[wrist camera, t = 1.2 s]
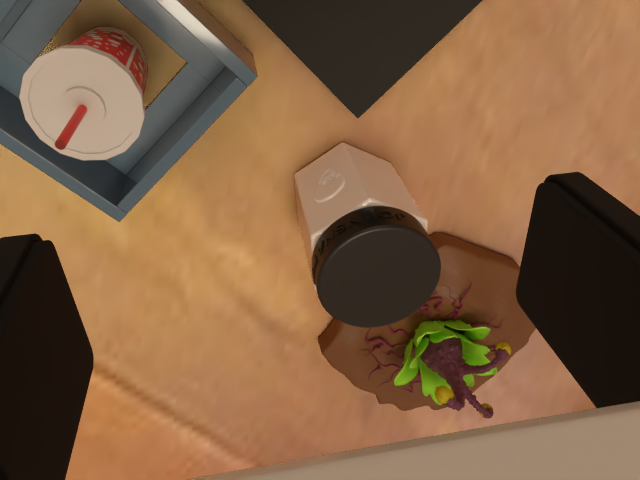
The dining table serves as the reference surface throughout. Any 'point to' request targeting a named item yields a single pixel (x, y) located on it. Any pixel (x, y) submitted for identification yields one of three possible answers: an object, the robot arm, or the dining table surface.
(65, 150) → the beverage cup
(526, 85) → the dining table surface
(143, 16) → the blue-grey open box
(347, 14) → the mat
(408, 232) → the jar
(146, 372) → the dining table surface
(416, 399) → the plant
